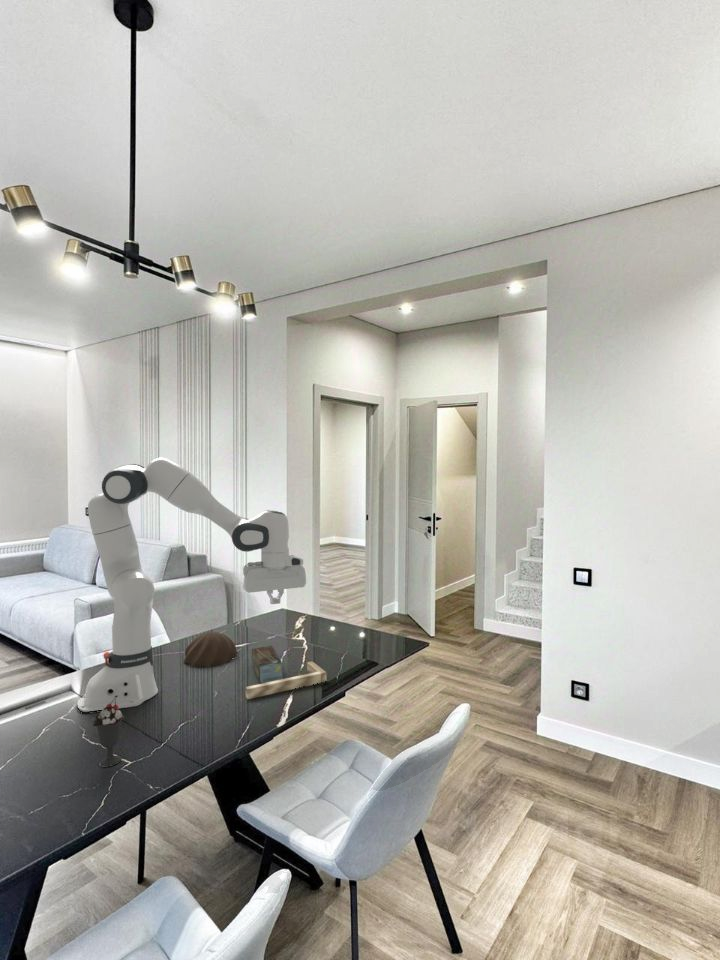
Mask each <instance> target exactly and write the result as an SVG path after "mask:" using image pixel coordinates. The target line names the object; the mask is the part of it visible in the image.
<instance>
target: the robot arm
mask: <svg viewBox="0 0 720 960" xmlns="http://www.w3.org/2000/svg"><path fill="white" fill-rule="evenodd" d="M101 491H102V493H99V494H97V495H95V496H94V497H92V498H91V499H90V500H89V501H88V504H87V512H88V519H89V525H90V529H91V533H92V536H93V539H94V542H95V545H96V549H97V552H98V555H99V559H100V564H101V568H102V571H103V577H104V580H105V585H106V588H107V591H108V593H109V596H110V597H111V598H112V599H113V603H114V604H113V619H112V624H111V639H112V640H111V642H112V644H111V645H112V646H111V647H112V648H111V649H112V651H111V652H110V651H105V652H104V653H103V654H102V656H103V659H104V661H105V662H104V663H105V666H103V667H102V668H101V669H100V670H99V671H98V672H97V673H96V674H94V675H93V676H91V678H90V679H89V681H88V683H87V684H86V688H85V693H84V694H85V698H80V697H79V698H80V699H79V698H78V699H79V700H77V702H76V703H77V705H78V708H79V709H81V710H83V711H94V710H103V709H104V708H105V707H106V706H107V705H108V704H110V703H111V702H112V701H113V702H112V703H111V705H112V707H113V706H114V705H115V702H116V705H117V706H118V709H123V708H124V709H125V708H133V707H137V706H140V705H141V704H143V703H144V702H145V701H148V700H149V699H151V698H153V697H154V696H156V695H157V694H158V693H159V689H158V686H157V683H156V680H155V679H156V678H155V675H154V668H153V666H154V648H153V646H152V634H151V633H152V629H151V626H152V625H151V624H152V623H151V622H152V613H153V606H154V597H155V585H154V583H153V580H152V579H151V578H150V576H148V575H146V574H145V573H144V572H143V569H142V565H141V560H140V559H141V558H140V553H139V545H138V542H137V538H136V535H135V532H134V528H133V524H132V521H131V518H130V516H129V510H128V508H129V505H130V503H132V502H135V501H137V500H139V499H140V498H142V497H143V496H144V495H146V494H147V493H149V492H150V493H154V494H156V495H158V496H160V497H161V498H163V499H164V500H165V501H167V502H168V503H170V504H171V505H173V506H174V507H176V508H178V509H180V510H182V511H185V512H187V513H188V514H189V513H191V514H196V515H199V516H203V517H205V518H207V519H208V520H210V521H211V522H213V523H214V524H215V525H217V526H218V527H220V528H221V529H223V530H224V531H225V532H226V533H227V534H228V535H229V536H230V538H231V542H232V544H233V545H234V547H235V548H236V549H237V550H239V551H241V552H247V553H249V552H252V551H256V550H260V552H261V553H260V555H261V557H260V560H261V561H255V562H247V563H246V564H245V565H244V566H243V569H242V571H243V576H244V578H243V583H242V584H243V585H242V586H243V590H244V591H245V592H246V593H248V594H249V593H259V592H266V595H267V596H268V597H269V604H270V605H277V604H281V598H282V596H283V595H284V593H285V590H287V589H288V590H289V589H299V588H300V589H301V588H304V587H305V586H306V584H307V577H306V569H305V567H304V566H303V565H304V559H303V558H301V557H298V556H295V555H292V554H290V549H289V545H288V542H289V539H290V530H289V529H290V527H289V519H288V517H287V515H286V514H285V513H284V512H282V511H276V510H272V509H271V510H270V509H265V510H264V511H263V512H261V513H259V514H258V515H255V516H254V517H251V518H245V517H241V516H240V515H238V514H237V513H235V512H233V511H232V510H230V509H229V508H227V507H226V506H225V505H223V504H222V503H220V502H219V501H218V499H217V498H216V497H215V496H214V495H213V494H212V493H211V491H210V490H209V488H207V486H205V484H204V483H203V482H202V481H201V480H200V479H198V478H197V477H196V476H195V474H192V473H191V472H190V471H189V470H187V469H186V468H184V467H183V466H181V465H179V464H177V463H175V462H174V461H171V460H169V459H168V458H165V457H158V458H155V459H153V460H152V461H150V462H149V463H148V465H146V467H144V466H143V465H140V464H136V463H132V464H131V463H130V464H125V465H121V466H118V467H116V468H114V469H111V470H110V471H109V472H108V473H106V475H105V476H104V477H103V479H102V481H101ZM276 590H277V592H278V593H277V596H276V597H274V596H273V593H274V591H276ZM117 695H118V697H115V696H117ZM114 697H115V698H116V701H115V698H114ZM113 699H114V700H113ZM77 705H76V706H77ZM82 707H84V708H82Z"/></svg>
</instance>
